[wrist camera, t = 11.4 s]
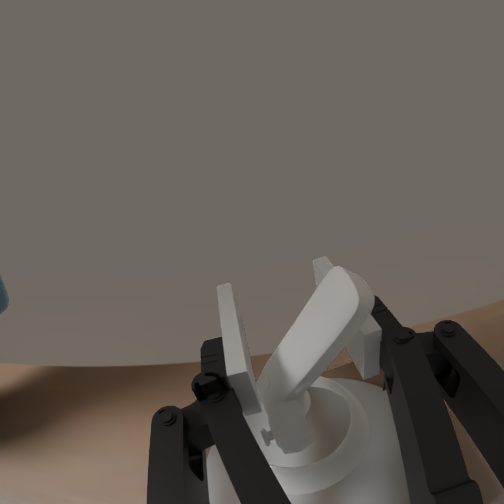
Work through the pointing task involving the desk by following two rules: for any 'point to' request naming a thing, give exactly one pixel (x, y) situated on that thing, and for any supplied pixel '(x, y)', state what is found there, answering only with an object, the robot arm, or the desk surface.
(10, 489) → the desk surface
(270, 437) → the white vr controller
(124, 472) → the desk surface
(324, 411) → the rosette stand
